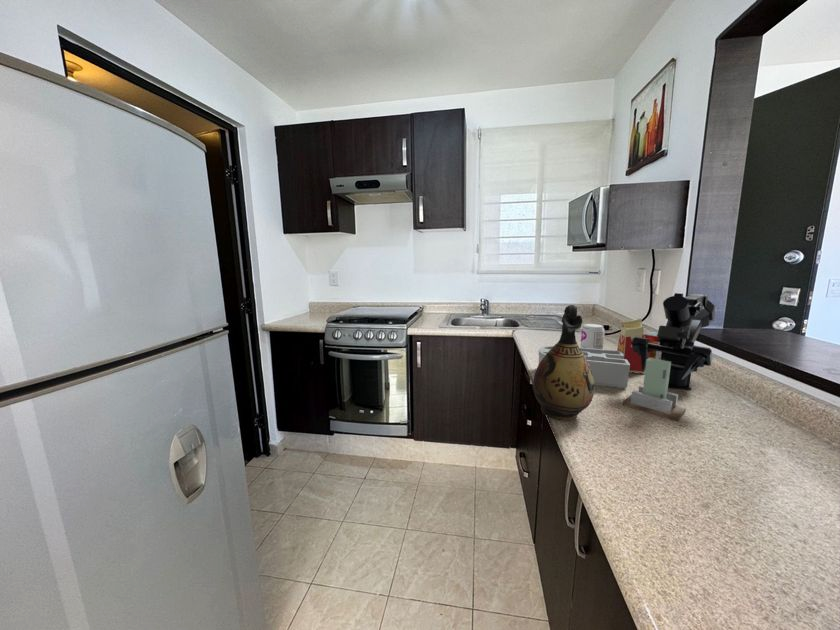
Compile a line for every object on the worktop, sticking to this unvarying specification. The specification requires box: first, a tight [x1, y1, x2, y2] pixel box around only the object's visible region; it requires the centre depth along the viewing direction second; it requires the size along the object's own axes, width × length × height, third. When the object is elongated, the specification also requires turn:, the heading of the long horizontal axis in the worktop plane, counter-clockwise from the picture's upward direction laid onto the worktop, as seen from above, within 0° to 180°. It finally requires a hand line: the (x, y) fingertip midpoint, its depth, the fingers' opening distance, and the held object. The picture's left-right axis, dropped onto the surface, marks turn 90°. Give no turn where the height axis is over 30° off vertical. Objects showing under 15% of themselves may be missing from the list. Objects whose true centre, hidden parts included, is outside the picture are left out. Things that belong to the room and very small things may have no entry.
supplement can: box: [579, 323, 606, 350], centre depth 132 cm, size 8×8×15 cm
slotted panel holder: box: [621, 385, 687, 422], centre depth 91 cm, size 13×8×4 cm, turn 40°
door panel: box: [642, 358, 671, 399], centre depth 90 cm, size 3×5×13 cm, turn 41°
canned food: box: [643, 331, 662, 360], centre depth 129 cm, size 8×8×12 cm
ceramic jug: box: [532, 304, 595, 421], centre depth 88 cm, size 17×15×30 cm
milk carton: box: [616, 317, 645, 375], centre depth 122 cm, size 9×9×20 cm
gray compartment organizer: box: [537, 345, 630, 389], centre depth 116 cm, size 17×28×9 cm, turn 67°
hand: (661, 374), depth 93 cm, fingers open, 9 cm apart
